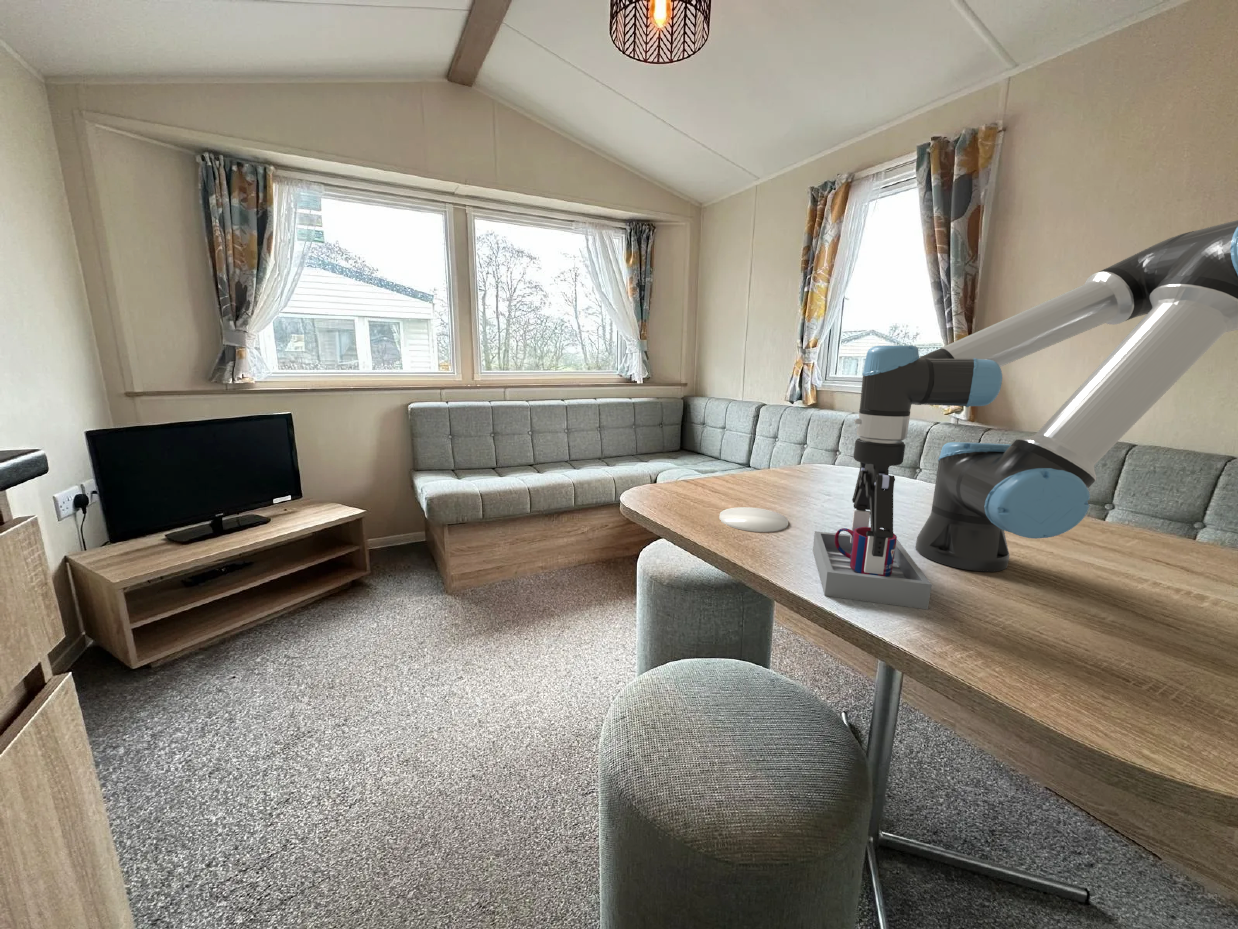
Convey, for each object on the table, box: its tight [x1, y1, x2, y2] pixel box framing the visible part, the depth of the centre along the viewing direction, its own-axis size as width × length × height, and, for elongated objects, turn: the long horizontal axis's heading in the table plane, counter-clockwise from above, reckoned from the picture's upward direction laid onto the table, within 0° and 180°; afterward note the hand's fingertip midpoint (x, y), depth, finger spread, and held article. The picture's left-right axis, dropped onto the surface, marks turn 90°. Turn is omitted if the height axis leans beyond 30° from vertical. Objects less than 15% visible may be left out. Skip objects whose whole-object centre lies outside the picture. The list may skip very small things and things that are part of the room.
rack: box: [812, 530, 933, 610], centre depth 86 cm, size 15×20×4 cm
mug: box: [835, 526, 898, 577], centre depth 87 cm, size 7×10×7 cm
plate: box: [718, 506, 789, 533], centre depth 117 cm, size 16×16×1 cm
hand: (865, 557), depth 86 cm, fingers open, 13 cm apart
